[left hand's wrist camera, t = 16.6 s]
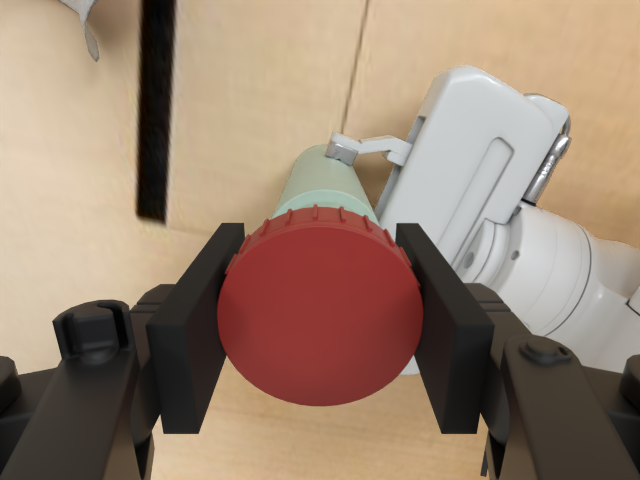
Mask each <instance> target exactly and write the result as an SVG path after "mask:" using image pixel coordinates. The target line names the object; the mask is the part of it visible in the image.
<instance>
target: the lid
mask: <svg viewBox="0 0 640 480" xmlns="http://www.w3.org/2000/svg"><path fill="white" fill-rule="evenodd" d="M410 266H412V265H411V263H410V261H409V259H408V257H407V255H406V254H405V252H404V250H403V248H402V247H398V246H397V244H396V243H395V242H394V240H393V239H392V237H391V235H390V233H389V231H388V230H387V229H386V228H385V229H384V230H383V229H382V228H380V227H379V226H378V225H377V224H375V223H374V222H372V221H370V220H369V218H368V216H367V215H364V216H361V215H359V214H356V213H354V212H351V211H347V210H344V207H342V206H340V208H332V207H318V205H317V204H314V205H313V207H309V208H301V209H297V210H293V211H292V209H288V211H287V213H284V214H282V215H279V216H277V217H275V218H274V219H272V220H270V221H269V220H268V219H266V220H265V221H264V224H263V225H262V226H261V227H260V228H258V229H257V230H256V231H255V232H254V233H253V234H252V235H251V236H250V235H249V234H248V235H247V236H246V238H245V240H244V242H243V244H242V246H241V248H240V250H239V253H238V255H237V254H234V256H233V258H232V260H231V262H230V264H229V265H228V267H227V269H226V271H225V274H227V276H226V278H225V280H224V283H223V285H222V288H221V290H220V294H219V298H218V302H217V320H218V330H219V337H220V340H221V343H222V346H223V348H224V351H225V352H226V354H227V356H228V358H229V360H230V361H231V362H232V364H233V365H234V366H235V368H236V369H237V370H238V371H239V372H240V373H241V374H242V376H243V377H244V378H245V379H247V380H248V381H249V382H250V383H252V384H253V385H254V386H255V387H257V388H259V389H260V390H262V391H263V392H265V393H267V394H269V395H271V396H273V397H276V398H278V399H281V400H284V401H287V402H291V403H295V404H299V405H307V406H333V405H340V404H346V403H350V402H353V401H356V400H360V399H362V398H365V397H367V396H369V395H372V394H373V393H375V392H377V391H379V390H380V389H382V388H383V387H385V386H386V385H388V384H389V383H390V382H392V381H393V380H394V379H395V378H396V377H397V376H398V375H399V374H400V373H401V372H402V371H403V370H404V368H405V367H406V366H407V365H408V363H409V362H410V360H411V358H412V357H413V355H414V353H415V351H416V349H417V347H418V344H419V342H420V338H421V333H422V324H423V313H424V307H423V301H422V296H421V293H420V290H419V289H421V286H420V284H419V282H418V280H417V278H416V276H415V274H414V272H413V270H412V268H409V267H410Z"/></svg>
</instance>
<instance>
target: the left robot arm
mask: <svg viewBox="0 0 640 480" xmlns="http://www.w3.org/2000/svg"><path fill="white" fill-rule="evenodd" d="M244 240H245V233H244V223H222V224H221V225H220V226H219V228H218V229H217V230H216V232H215V233H214V234H213V236H212V237H211V238H210V240H209V241H208V242H207V244H206V245H205V246H204V248H203V249H202V250H201V252H200V253H199V254H198V256H197V257H196V258H195V260H194V261H193V262H192V264H191V265H190V266H189V268H188V269H187V270H186V272H185V273H184V274H183V276H182V277H181V278H180V279H179V281H178V282H177V283H176V284H160V285H158V286H157V287H155V288H153V289H151V290H150V291H148V292H146V293H145V294H144V295H143V296H142V297H141V299H140V300H139V301H138V302H137V305H134V307H133V308H132V309H131V310H129V305H127V304H126V303H124V302H123V301H117V300H97V301H92V302H87V303H83V304H80V305H77V306H75V307H72V308H70V309H68V310H66V311H64V312H62V313H61V314H59V315H58V316H57V317H56V318H55V319H54V320H53V321H52V322H53V326H54V330H55V334H56V338H57V341H58V345H59V349H60V353H61V357H62V360H61V361H60V363H59V365H58V367H57V368H53V369H48V370H43V371H37V372H32V373H27V374H22V375H18V372H17V369H16V366H15V363H14V361H13V360H11V359H10V358H9V357H4V356H0V480H150V479H151V472H152V464H153V457H154V449H155V448H154V441H153V435H152V429H153V427H154V425H155V423H156V421H157V419H158V417H159V415H161V421H162V427H163V433H164V434H199V431H200V428H201V425H202V423H203V420H204V417H205V414H206V411H207V409H208V406H209V403H210V400H211V397H212V395H213V392H214V389H215V386H216V383H217V381H218V378H219V375H220V372H221V369H222V366H223V364H224V361H225V358H226V355H227V354H226V352H225V351H224V348H223V346H222V343H221V340H220V337H219V330H218V320H217V302H218V298H219V294H220V290H221V288H222V285H223V283H224V280H225V278H226V276H227V274H225V271H226V269H227V267H228V265H229V264H230V262H231V260H232V258H233V256H234V254H237V255H238V253H239V250H240V248H241V246H242V244H243V242H244ZM395 243H396V244H397V246H398V247H402V248H403V250H404V252H405V254H406V255H407V257H408V259H409V261H410V263H411V265H412V266H410V267H409V268H412V270H413V272H414V274H415V276H416V278H417V280H418V282H419V284H420V286H421V289H419V290H420V293H421V296H422V301H423V307H424V313H423V324H422V333H421V338H420V342H419V344H418V347H417V349H416V351H415V353H414V357H415V360H416V363H417V366H418V369H419V371H420V374H421V377H422V380H423V383H424V385H425V388H426V391H427V394H428V397H429V399H430V402H431V405H432V408H433V411H434V413H435V416H436V419H437V422H438V425H439V428H440V430H441V433H442V434H477V428H478V422H479V417H480V413H481V415H482V417H483V419H484V421H485V423H486V425H487V427H488V429H489V430H488V435H487V441H486V446H485V452H484V457H483V463H482V468H481V475H480V476H485V477H486V475H487V469H488V471H489V478H490V480H640V354H638V355H632V356H631V357H630V358H628V359H627V361H626V364H625V367H624V370H623V373H618V372H613V371H607V370H602V369H597V368H592V367H587V366H583V365H582V364H581V363H580V361H579V359H578V357H577V356H576V355H575V354H574V353H573V352H572V350H570V349H569V348H567V347H566V346H564V345H563V344H561V343H559V342H557V341H554V340H552V339H549V338H547V337H543V336H538V335H534V334H532V333H531V332H530V331H529V330H528V328H527V327H526V326H525V325H524V324H523V323H522V322H521V320H520V319H519V318H518V317H517V316H516V315H515V314H514V313H513V312H511V309H510V308H509V307H508V306H507V305H506V303H504V301H503V300H502V299H501V298H500V297H499V295H498V294H497V293H496V292H495V291H493V290H492V289H490V288H488V287H486V286H485V285H483V284H481V283H463V282H462V280H461V279H460V278H459V276H458V275H457V274H456V272H455V271H454V270H453V269H452V267H451V266H450V265H449V263H448V262H447V261H446V259H445V258H444V257H443V255H442V254H441V253H440V251H439V250H438V249H437V247H436V246H435V245H434V243H433V242H432V241H431V239H430V238H429V237H428V235H427V234H426V233H425V231H424V230H423V229H422V227H421V226H420V225H419V223H396V237H395Z"/></svg>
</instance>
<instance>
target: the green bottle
mask: <svg viewBox="0 0 640 480" xmlns="http://www.w3.org/2000/svg"><path fill="white" fill-rule="evenodd" d="M327 146H328V145H317V146H314V147H311V148H309V149H307V150H306V151H304V152H303V153H302V154H301V155H300V156H299V158H298V159H297V161H296V163H295V165H294V168H293V170H292V172H291V175H290V177H289V179H288V181H287V184H286V186H285V188H284V191H283V193H282V195H281V198H280V200H279V202H278V205H277V207H276V209H275V212H274V214H273V216H272V219H274V218H275V217H277V216H279V215H282V214H284V213H287V211H288V209H292V211H293V210H297V209H301V208H309V207H313V205H314V204H317V205H318V207H332V208H340V206H342V207H344V210H347V211H351V212H354V213H356V214H359V215H361V216H364V215H367V216H368V218H369V220H370V221H372V222H374V223H375V224H377V225H378V226H379V227H380V225H379V222H378V220H377V218H376V216H375V214H374V212H373V209H372V207H371V205H370V203H369V201H368V198H367V196H366V194H365V192H364V190H363V187H362V185H361V183H360V181H359V179H358V177H357V174H356V172H355V170H354V168H353V166H349V165H347V164H344V163H343V162H341V161H340V159H332V158H330V157H328V156H326V155H325V151H326V148H327ZM272 219H271V220H272Z"/></svg>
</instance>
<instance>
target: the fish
mask: <svg viewBox="0 0 640 480" xmlns="http://www.w3.org/2000/svg"><path fill="white" fill-rule="evenodd" d="M59 1H60V2H62V3H63V4H65V5H66V6H68V7H69V8H71V9H72V10H74V11H75V12H77V13H78V14H79V17H80V21H81V24H82V27H83V31H84V34H85V38H86V41H87V46H88V51H89V53H90V54H91V56H92V57H93V59H94V60H95V61H96V62H97V61H98V59H99V52H98V47H97V41H96V39H95V38H94V36H93V34H92V32H91V31H90V29H89V27H88V25H87V23H86V20H87V18H88V15H89V13H90V11H91V8H92V7H93V5H94V4H95V3H96V2H97V1H98V0H59Z"/></svg>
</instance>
